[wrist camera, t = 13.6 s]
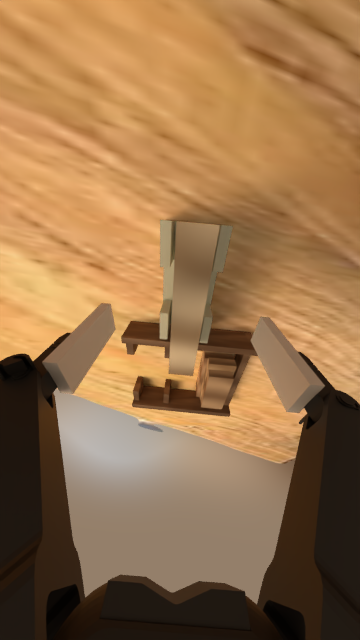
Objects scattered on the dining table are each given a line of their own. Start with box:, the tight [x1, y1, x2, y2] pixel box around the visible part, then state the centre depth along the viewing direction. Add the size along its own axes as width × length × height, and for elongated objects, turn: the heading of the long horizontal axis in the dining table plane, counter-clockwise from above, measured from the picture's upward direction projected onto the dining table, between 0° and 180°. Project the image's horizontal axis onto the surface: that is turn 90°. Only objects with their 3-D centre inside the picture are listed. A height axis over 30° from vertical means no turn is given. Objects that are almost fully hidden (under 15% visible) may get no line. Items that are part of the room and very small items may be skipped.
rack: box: [121, 321, 258, 417], centre depth 33 cm, size 21×23×6 cm
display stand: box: [160, 220, 233, 343], centre depth 23 cm, size 16×8×6 cm, turn 176°
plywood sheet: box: [169, 221, 220, 376], centre depth 20 cm, size 16×3×11 cm, turn 176°
